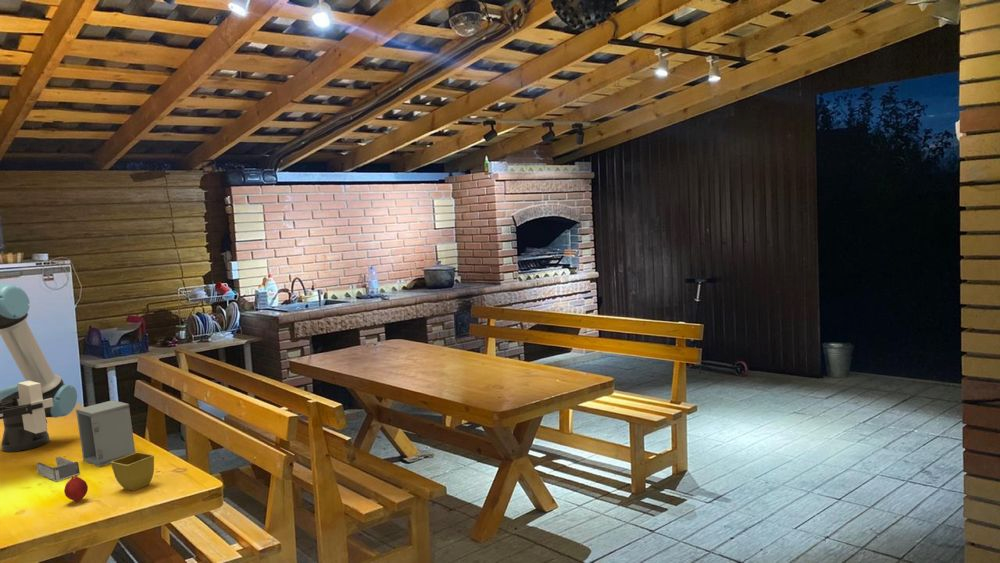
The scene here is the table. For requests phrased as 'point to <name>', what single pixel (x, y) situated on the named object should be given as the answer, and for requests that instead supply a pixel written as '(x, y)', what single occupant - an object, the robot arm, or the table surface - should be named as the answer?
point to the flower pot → (134, 470)
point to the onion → (75, 488)
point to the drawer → (59, 469)
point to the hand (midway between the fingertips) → (46, 400)
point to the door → (30, 394)
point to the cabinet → (105, 432)
